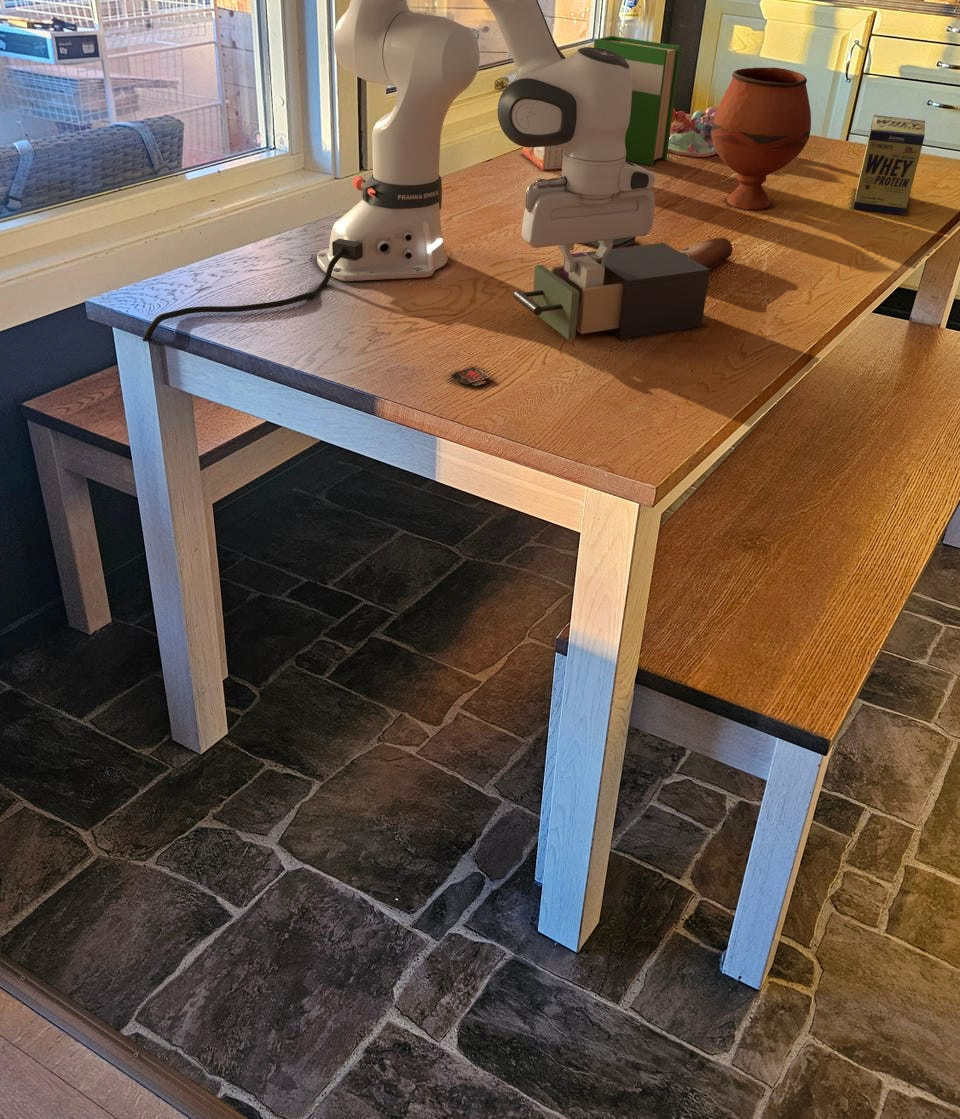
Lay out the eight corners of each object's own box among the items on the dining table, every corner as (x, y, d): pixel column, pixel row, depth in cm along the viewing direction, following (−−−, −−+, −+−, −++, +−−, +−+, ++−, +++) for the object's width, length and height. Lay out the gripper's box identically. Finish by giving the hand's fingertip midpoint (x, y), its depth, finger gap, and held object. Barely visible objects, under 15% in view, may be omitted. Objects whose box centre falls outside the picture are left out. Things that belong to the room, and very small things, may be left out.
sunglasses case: (687, 247, 198) (710, 219, 193) (715, 273, 197) (738, 246, 193) (645, 275, 185) (668, 246, 180) (675, 303, 185) (698, 275, 180)
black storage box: (620, 339, 163) (627, 280, 158) (578, 308, 173) (583, 252, 168) (701, 326, 169) (710, 269, 163) (656, 297, 178) (663, 242, 173)
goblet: (697, 212, 218) (717, 78, 204) (704, 186, 233) (723, 60, 219) (795, 222, 214) (821, 87, 200) (795, 195, 230) (820, 68, 216)
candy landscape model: (703, 129, 277) (709, 90, 271) (777, 149, 262) (785, 109, 257) (635, 142, 263) (640, 101, 258) (710, 164, 249) (716, 122, 243)
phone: (571, 217, 208) (638, 235, 200) (571, 223, 208) (637, 241, 201) (547, 227, 203) (614, 245, 195) (546, 233, 203) (614, 251, 196)
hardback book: (666, 159, 251) (681, 46, 237) (651, 165, 246) (665, 50, 232) (600, 145, 259) (611, 35, 246) (584, 151, 254) (594, 39, 240)
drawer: (539, 344, 159) (543, 296, 154) (504, 315, 167) (507, 269, 163) (646, 328, 165) (652, 281, 161) (607, 300, 174) (611, 255, 170)
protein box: (852, 209, 223) (870, 130, 214) (856, 189, 235) (873, 114, 227) (905, 216, 221) (925, 136, 212) (906, 195, 233) (925, 119, 224)
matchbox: (447, 378, 150) (447, 375, 149) (471, 367, 153) (471, 363, 153) (473, 388, 147) (473, 385, 147) (497, 376, 151) (497, 373, 150)
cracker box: (520, 154, 250) (526, 56, 238) (545, 153, 251) (551, 55, 240) (541, 171, 239) (548, 68, 227) (566, 170, 240) (575, 68, 229)
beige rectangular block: (603, 288, 161) (605, 267, 159) (584, 291, 160) (586, 269, 158) (581, 272, 166) (583, 252, 164) (562, 275, 165) (564, 254, 163)
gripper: (536, 186, 148) (530, 284, 156) (665, 175, 155) (652, 269, 163) (516, 174, 153) (511, 270, 160) (642, 163, 160) (631, 255, 168)
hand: (583, 269), depth 162 cm, fingers closed on beige rectangular block, 3 cm apart
